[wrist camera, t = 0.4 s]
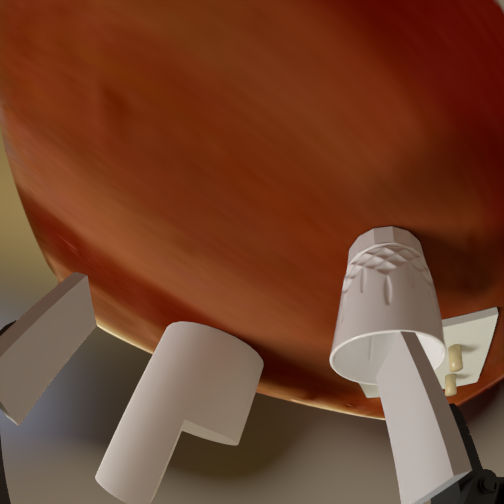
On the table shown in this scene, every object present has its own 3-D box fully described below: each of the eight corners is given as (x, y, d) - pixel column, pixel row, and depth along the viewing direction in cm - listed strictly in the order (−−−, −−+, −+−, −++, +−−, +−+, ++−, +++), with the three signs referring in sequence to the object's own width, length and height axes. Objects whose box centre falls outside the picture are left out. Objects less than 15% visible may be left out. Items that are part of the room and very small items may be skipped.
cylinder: (166, 349, 52) (109, 472, 32) (165, 306, 39) (79, 478, 20) (249, 382, 51) (203, 511, 32) (278, 351, 39) (216, 535, 19)
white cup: (326, 236, 23) (309, 343, 16) (416, 206, 18) (442, 317, 12) (359, 294, 26) (351, 390, 20) (435, 275, 22) (448, 375, 15)
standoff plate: (496, 306, 22) (503, 337, 19) (476, 376, 32) (477, 398, 29) (336, 336, 32) (332, 365, 29) (367, 392, 42) (365, 413, 39)
